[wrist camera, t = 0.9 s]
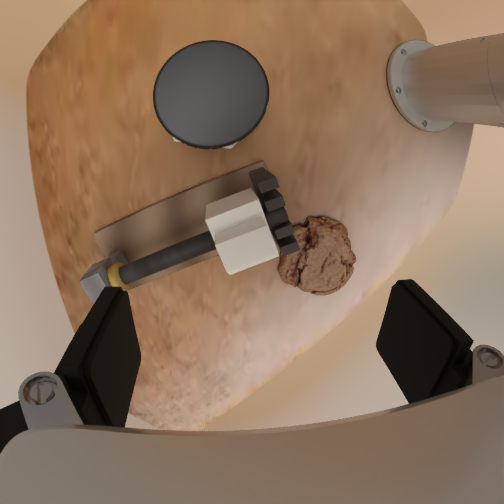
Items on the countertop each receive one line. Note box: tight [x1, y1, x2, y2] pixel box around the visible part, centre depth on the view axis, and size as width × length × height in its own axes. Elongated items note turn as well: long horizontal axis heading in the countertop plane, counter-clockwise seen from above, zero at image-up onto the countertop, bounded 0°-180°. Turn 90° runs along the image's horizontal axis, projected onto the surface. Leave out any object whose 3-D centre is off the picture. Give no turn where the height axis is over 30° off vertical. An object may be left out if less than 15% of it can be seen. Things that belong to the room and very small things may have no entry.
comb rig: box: [79, 160, 300, 305], centre depth 30 cm, size 21×8×9 cm, turn 110°
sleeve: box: [205, 188, 279, 275], centre depth 26 cm, size 4×5×8 cm
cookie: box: [279, 217, 356, 295], centre depth 37 cm, size 10×11×3 cm
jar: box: [153, 40, 269, 149], centre depth 24 cm, size 9×8×12 cm
